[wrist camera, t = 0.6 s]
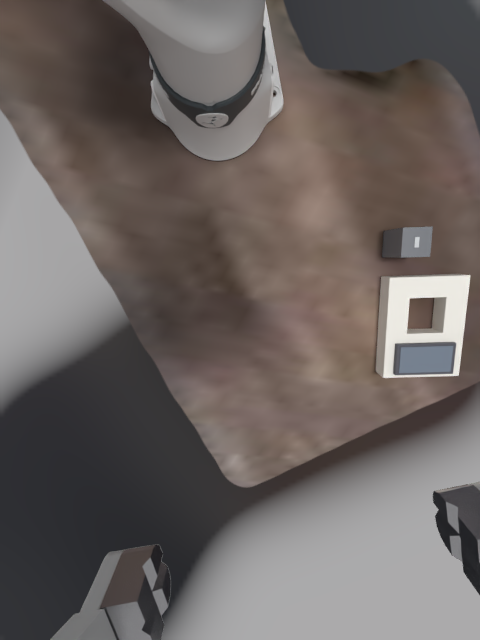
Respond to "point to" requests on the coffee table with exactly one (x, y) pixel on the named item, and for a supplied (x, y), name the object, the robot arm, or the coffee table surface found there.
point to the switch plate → (421, 344)
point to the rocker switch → (407, 242)
